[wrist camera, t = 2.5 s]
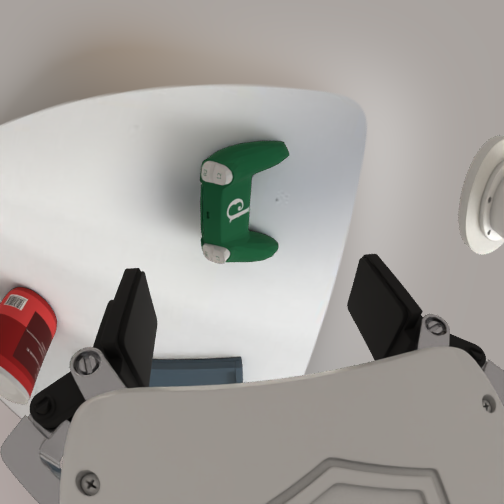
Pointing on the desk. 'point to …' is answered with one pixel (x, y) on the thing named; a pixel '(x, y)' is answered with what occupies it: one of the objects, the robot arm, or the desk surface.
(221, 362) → the tray
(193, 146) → the desk surface
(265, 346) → the desk surface
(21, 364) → the canned food
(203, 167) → the gaming controller
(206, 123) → the desk surface
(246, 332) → the desk surface
